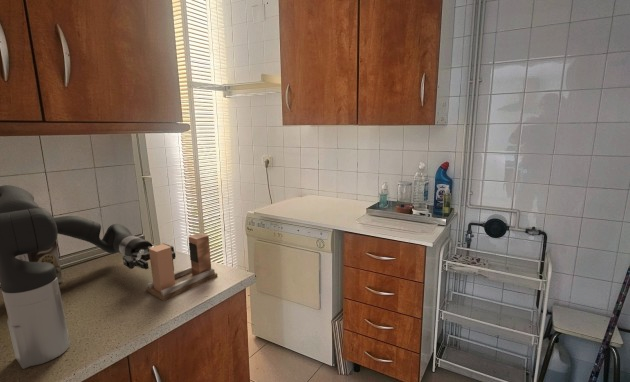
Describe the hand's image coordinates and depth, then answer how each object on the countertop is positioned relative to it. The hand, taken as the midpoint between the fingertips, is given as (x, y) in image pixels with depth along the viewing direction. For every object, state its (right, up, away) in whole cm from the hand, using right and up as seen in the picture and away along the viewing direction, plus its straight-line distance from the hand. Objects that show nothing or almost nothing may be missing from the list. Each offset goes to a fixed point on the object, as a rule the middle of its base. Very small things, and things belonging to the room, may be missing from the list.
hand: (160, 261), depth 101 cm
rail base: (+5, -8, +5) cm, 11 cm away
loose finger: (+1, -8, +1) cm, 8 cm away
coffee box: (-39, -9, +3) cm, 41 cm away
